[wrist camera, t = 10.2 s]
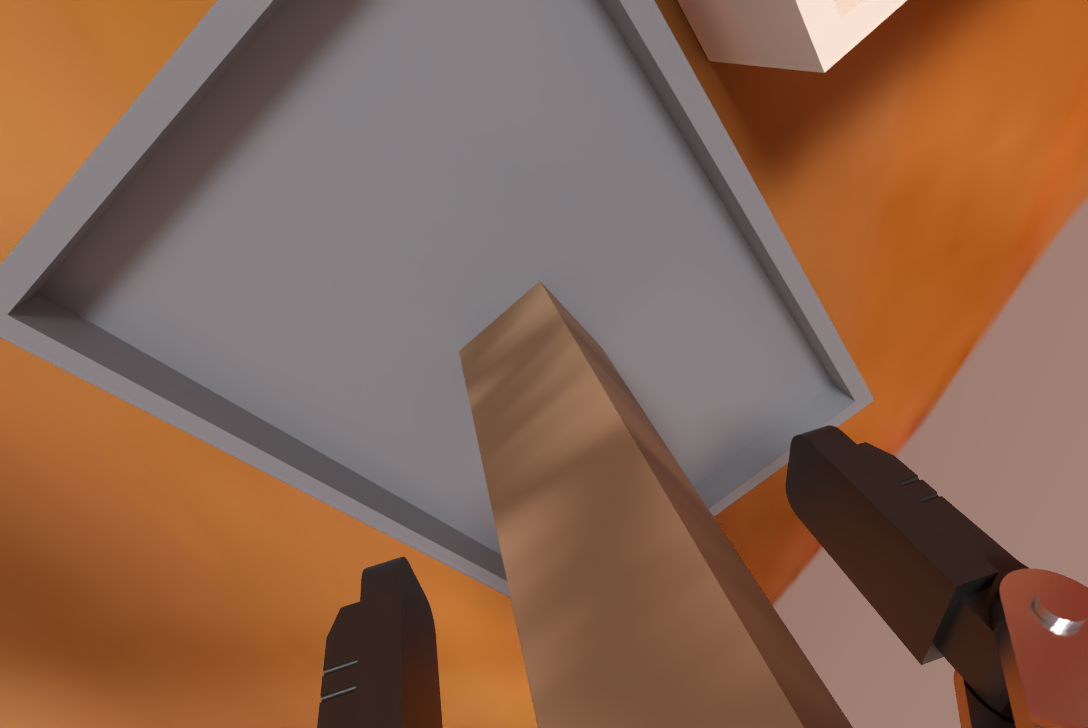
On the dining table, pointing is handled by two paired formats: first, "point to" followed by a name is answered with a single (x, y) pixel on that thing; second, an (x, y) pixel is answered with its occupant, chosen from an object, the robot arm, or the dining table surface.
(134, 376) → the tray
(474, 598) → the dining table surface
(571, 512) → the peg
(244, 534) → the dining table surface
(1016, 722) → the robot arm
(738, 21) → the square frame
